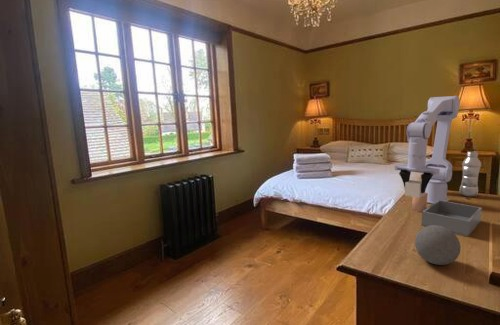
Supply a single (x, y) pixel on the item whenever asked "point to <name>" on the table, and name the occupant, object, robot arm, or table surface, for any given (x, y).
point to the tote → (452, 217)
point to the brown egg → (420, 203)
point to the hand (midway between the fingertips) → (414, 191)
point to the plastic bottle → (470, 174)
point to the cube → (413, 189)
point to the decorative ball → (437, 245)
